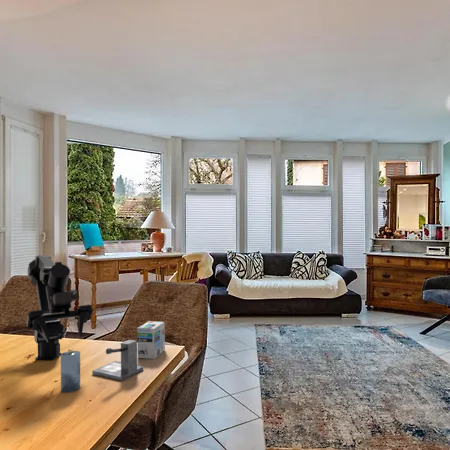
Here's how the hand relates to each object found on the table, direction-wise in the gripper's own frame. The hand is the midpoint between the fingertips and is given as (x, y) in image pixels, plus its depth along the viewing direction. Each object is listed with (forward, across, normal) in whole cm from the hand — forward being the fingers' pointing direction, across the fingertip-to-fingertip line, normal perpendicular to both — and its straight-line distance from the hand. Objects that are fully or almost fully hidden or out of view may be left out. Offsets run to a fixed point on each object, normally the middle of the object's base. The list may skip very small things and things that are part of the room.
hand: (65, 339), depth 117 cm
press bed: (+11, +13, +6) cm, 19 cm away
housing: (+14, 0, +4) cm, 14 cm away
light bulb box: (+3, +32, +15) cm, 35 cm away
